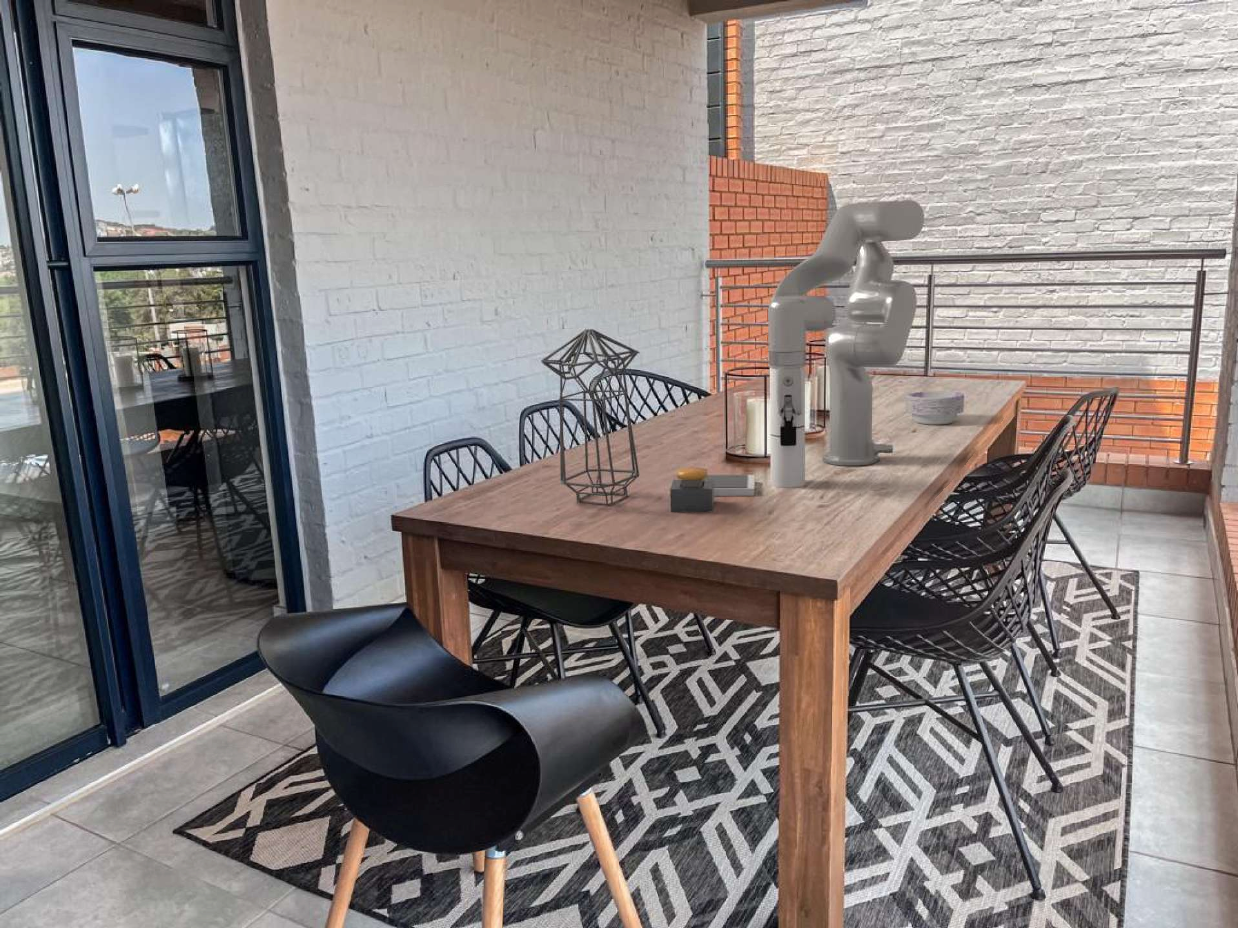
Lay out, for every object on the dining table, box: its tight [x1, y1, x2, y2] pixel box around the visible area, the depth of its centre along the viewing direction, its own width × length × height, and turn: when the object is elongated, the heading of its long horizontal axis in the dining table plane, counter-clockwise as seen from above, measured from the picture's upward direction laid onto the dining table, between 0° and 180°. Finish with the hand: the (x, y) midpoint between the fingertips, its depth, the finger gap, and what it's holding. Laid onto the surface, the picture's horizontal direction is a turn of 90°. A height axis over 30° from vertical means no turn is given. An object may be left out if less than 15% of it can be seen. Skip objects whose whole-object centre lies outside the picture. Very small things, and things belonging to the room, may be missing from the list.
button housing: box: [669, 478, 715, 513], centre depth 189 cm, size 8×8×4 cm
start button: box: [676, 466, 708, 487], centre depth 189 cm, size 6×6×5 cm
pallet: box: [704, 474, 755, 497], centre depth 203 cm, size 14×12×2 cm
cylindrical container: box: [769, 366, 806, 489], centre depth 202 cm, size 7×7×25 cm
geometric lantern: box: [540, 328, 640, 506], centre depth 195 cm, size 16×16×35 cm
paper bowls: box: [905, 390, 965, 426], centre depth 265 cm, size 15×15×8 cm
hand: (787, 440), depth 203 cm, fingers open, 9 cm apart
